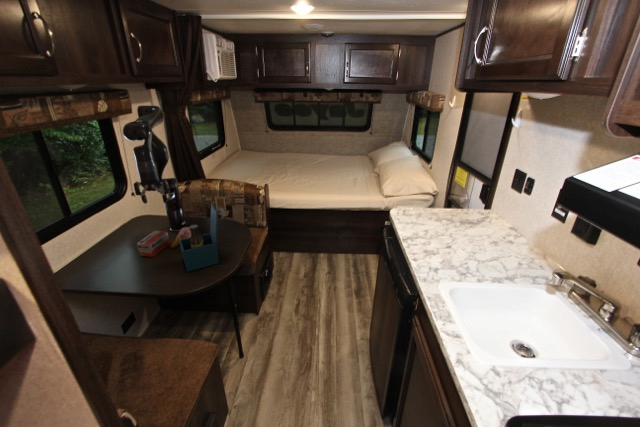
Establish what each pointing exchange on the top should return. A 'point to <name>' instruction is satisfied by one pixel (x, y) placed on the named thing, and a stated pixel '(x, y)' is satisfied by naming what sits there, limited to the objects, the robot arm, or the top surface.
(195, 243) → the sauce bottle
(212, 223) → the cool box lid
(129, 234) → the top surface
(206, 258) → the cool box
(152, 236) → the medicine box
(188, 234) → the ice cream
